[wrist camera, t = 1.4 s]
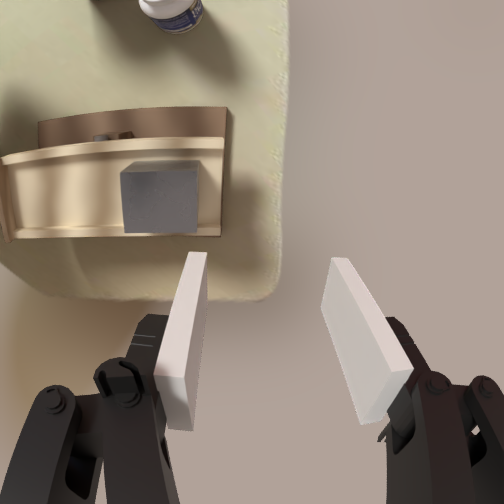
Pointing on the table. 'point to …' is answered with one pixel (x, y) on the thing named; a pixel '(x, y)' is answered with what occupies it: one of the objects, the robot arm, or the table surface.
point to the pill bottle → (173, 14)
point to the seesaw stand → (136, 127)
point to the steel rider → (160, 196)
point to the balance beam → (97, 186)
